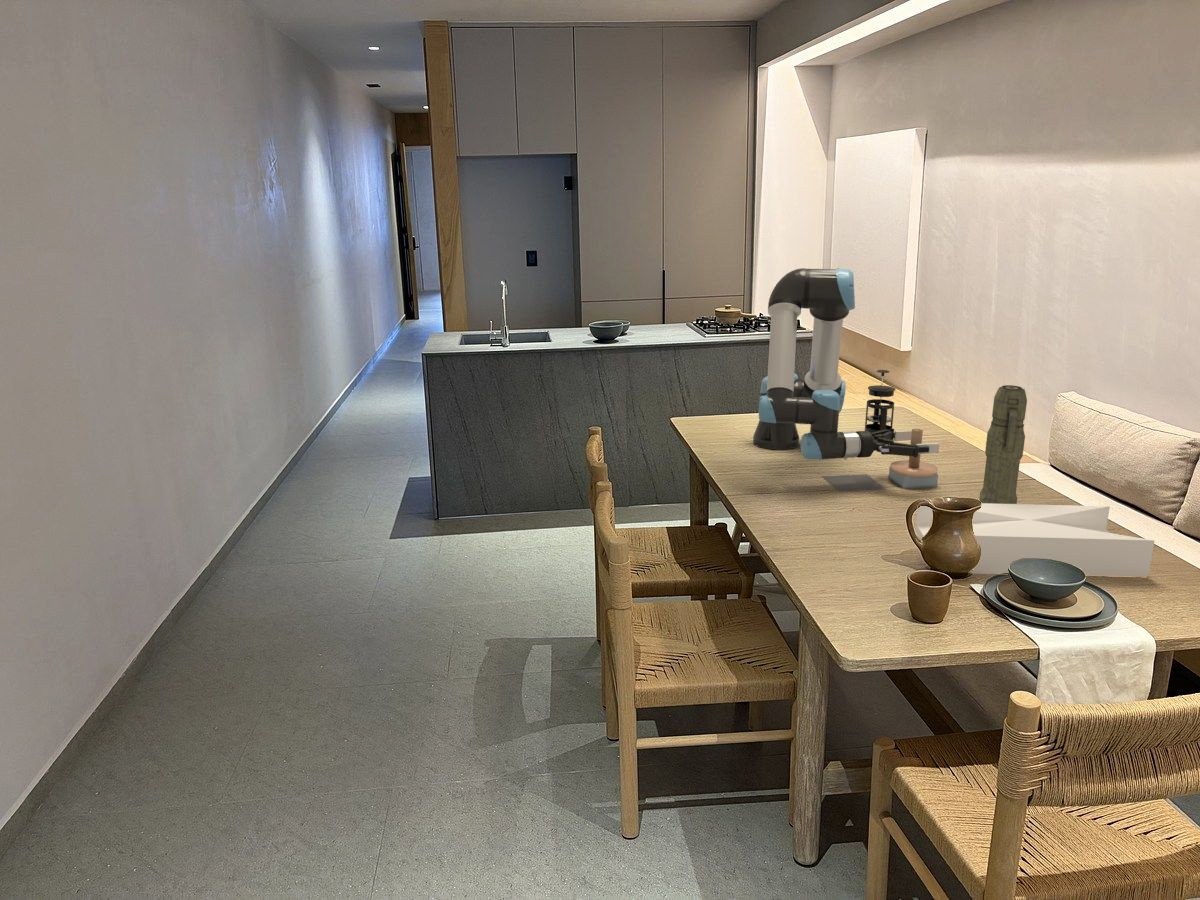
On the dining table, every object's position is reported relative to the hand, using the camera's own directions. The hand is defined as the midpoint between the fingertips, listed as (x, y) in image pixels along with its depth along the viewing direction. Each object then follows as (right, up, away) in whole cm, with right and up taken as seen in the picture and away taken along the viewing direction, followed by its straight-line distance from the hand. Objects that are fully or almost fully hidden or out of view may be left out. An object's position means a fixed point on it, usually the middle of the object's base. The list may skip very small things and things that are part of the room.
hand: (927, 441), depth 264 cm
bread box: (+6, -28, -48) cm, 56 cm away
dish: (-3, -12, +3) cm, 13 cm away
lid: (-3, -8, +2) cm, 9 cm away
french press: (+1, +2, +51) cm, 51 cm away
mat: (-20, -12, +3) cm, 24 cm away
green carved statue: (+9, -21, -25) cm, 34 cm away
